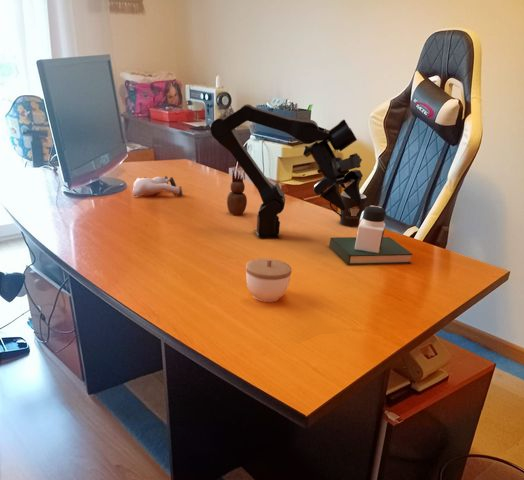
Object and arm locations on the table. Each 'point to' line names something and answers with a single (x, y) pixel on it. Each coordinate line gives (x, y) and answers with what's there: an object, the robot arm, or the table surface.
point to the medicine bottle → (371, 230)
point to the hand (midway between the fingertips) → (352, 207)
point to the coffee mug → (350, 211)
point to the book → (387, 255)
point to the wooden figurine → (236, 196)
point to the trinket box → (267, 278)
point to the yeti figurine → (155, 186)
